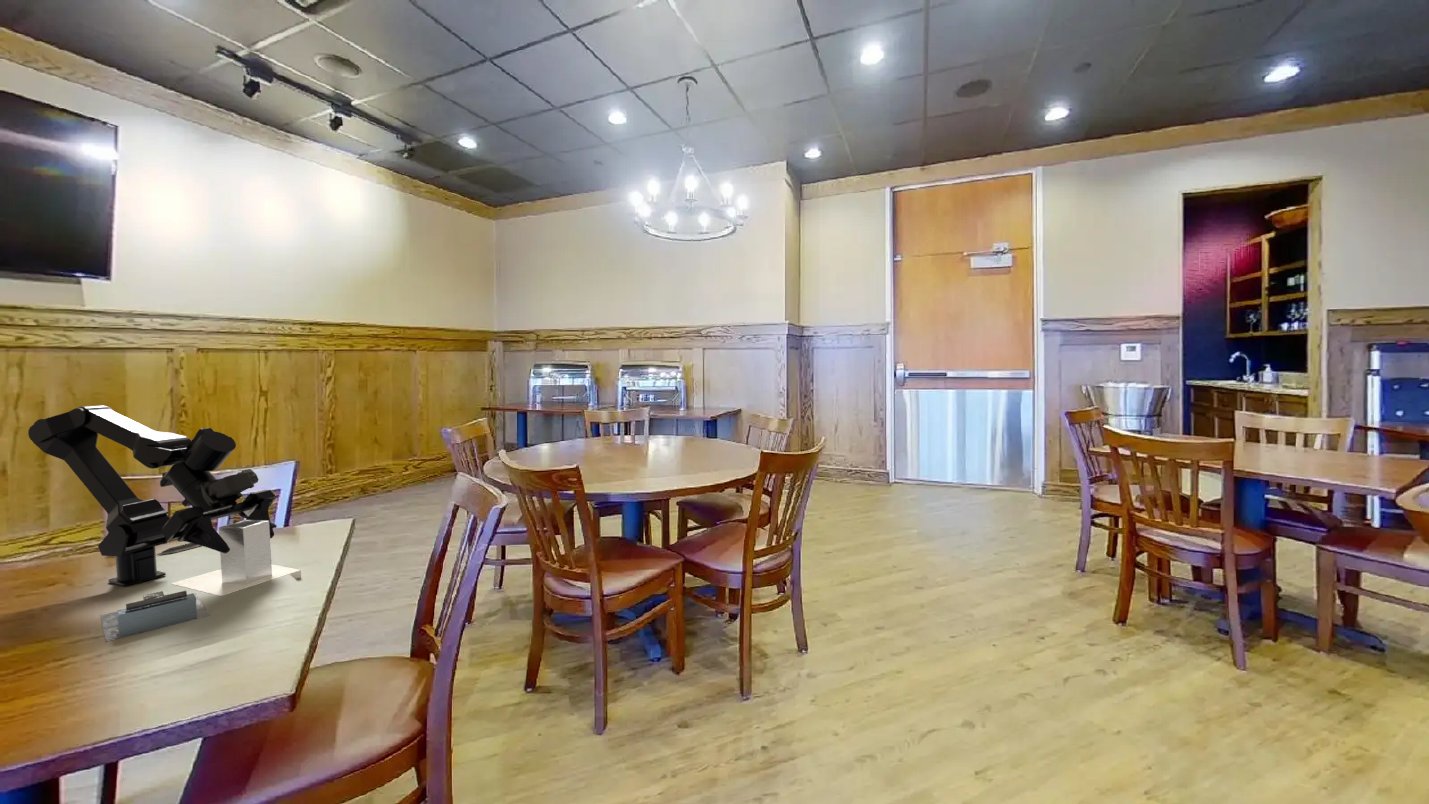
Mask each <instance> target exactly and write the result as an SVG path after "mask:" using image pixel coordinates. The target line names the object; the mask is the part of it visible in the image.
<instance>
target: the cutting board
mask: <svg viewBox="0 0 1429 804" xmlns="http://www.w3.org/2000/svg"><path fill="white" fill-rule="evenodd" d="M271 564H272V575H269V576H267V577H264V578H262V579H259V580H257V581H254V582H252V583H249V584H247V585H244V584H229V583H222V572H221V568H220V569H216V570H213V571H209V572H205V573H203V574H199V575H195V576H191V577H189V578H186V579H181V580H179V581H178V580H177V581H174V582H171V583H170V585H173V586H174V585H175V586H177V587H178V586H179V587H181V588H182V587H183V588H186V589H191V590H194V591H199V592H203V593H207V594H210V595H214V596H219V597H223V596H226V595H229V594H232V593H235V592H238V591H241V590H245V589H247V588H251V587H254V586H256V585H259V584H263V583H266V582H269V581H272V580H275V579H276V580H277V579H278V578H281V577H284V576H287V575H290V576H291V577H292V578H293V579H295V580H297V579H300V578H302V570H301V569H297V568H294V567H293V568H291V567H288V566H287V567H286V566H283V565H278V564H273V563H271Z"/></svg>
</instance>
